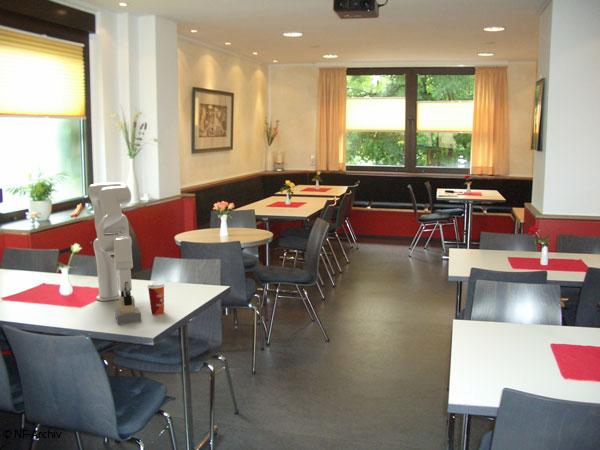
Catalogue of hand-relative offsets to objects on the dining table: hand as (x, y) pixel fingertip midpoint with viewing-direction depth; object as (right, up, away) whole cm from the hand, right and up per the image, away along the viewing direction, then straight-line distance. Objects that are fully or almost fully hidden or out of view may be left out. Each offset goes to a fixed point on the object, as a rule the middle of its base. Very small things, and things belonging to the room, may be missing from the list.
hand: (126, 302), depth 283 cm
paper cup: (+12, -6, +10) cm, 17 cm away
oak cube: (0, -4, 0) cm, 4 cm away
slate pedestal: (0, -8, +1) cm, 8 cm away
